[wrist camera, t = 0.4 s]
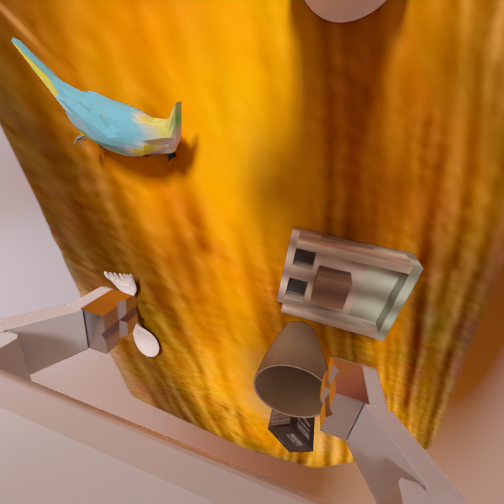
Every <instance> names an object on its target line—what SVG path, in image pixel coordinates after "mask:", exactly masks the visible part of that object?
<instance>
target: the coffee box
mask: <svg viewBox="0 0 504 504" xmlns="http://www.w3.org/2000/svg"><path fill="white" fill-rule="evenodd" d="M314 420H315V417H310V418H299V417H293V416H288V415H285V414H282V413H280V412H278V411H276V410H274V409H272V412H271V416H270V421H269V426H268V429H269V430H270V431H271V433H272V434H273V435H274V436H275V437H276V438H277V439H278V440H279V441H280V442H281V443H282V444H283V446H284V447H285V448H286V449H287V450H288V451H289V452H311V451H313V440H314Z"/></svg>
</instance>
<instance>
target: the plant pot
mask: <svg viewBox="0 0 504 504" xmlns="http://www.w3.org/2000/svg"><path fill="white" fill-rule="evenodd" d="M327 371H328V370H327V366H326V362H325V359H324V355H323V352H322V349H321V346H320V344H319V341H318V339H317V336H316V334H315V332H314V330H313V328H312V327H311V326H310V325H308V324H307V323H304V322H301V321H293V322H290V323H288V324H287V325H286V326H285V327H284V328H283V329H282V331H281V332H280V333H279V334H278V336H277V337H276V338H275V340H274V341H273V343H272V344H271V346H270V348H269V349H268V351H267V353H266V354H265V356H264V358H263V360H262V362H261V365H260V367H259V369H258V371H257V373H256V375H255V378H254V382H253V385H254V389H255V392H256V394H257V395H258V397H259V398H260V399H261V400H262V401H263V402H264V403H265V404H266V405H268V406H269V407H270V408H272V409H274V410H276V411H278V412H280V413H282V414H285V415H288V416H293V417H299V418H310V417H316V416H319V415H320V411H321V408H322V406H323V403H322V402H321V400H320V393H321V385H322V380H323V377H324V374H325V372H327Z"/></svg>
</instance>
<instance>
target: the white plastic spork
mask: <svg viewBox="0 0 504 504" xmlns="http://www.w3.org/2000/svg"><path fill="white" fill-rule="evenodd" d="M104 274H105V276H106V277H107V278H108V279H109V280H111V281H112V282H113V283H114V284H115V286H116V287H117V288H118V289H119V290H121V291H122V292H124V293H127V294H130V295H133V296H134V295H135V293H136V291H137V288H136V284H135V280H134V277H133V275H132V274H130V275H128V274H127V275H126V274H123V275H124V276H123V275H122V274H120V273H119V276H120V277H119V276H118V275H117V274H116V273H114V274H112V273H111V272H110V274H109V273H108V272H106V271H105V272H104ZM133 336H134V340H135V343H136V345H137V347H138V349H139V350H140V351H141V352H142V353H143V354H144V355H146V356H149V357H154V356H156V355H157V354H158V353H159V345H158V342H157V340H156V338H155V337H154V336H153V335H152V334H151V333H150V332H149V331H147V330H146V329H144V328H143V327H141V326H140V325H139V324H138V323H137V324H136V325H135V329H134V332H133Z"/></svg>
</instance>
